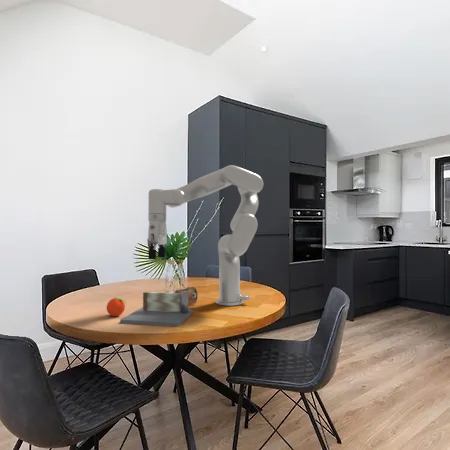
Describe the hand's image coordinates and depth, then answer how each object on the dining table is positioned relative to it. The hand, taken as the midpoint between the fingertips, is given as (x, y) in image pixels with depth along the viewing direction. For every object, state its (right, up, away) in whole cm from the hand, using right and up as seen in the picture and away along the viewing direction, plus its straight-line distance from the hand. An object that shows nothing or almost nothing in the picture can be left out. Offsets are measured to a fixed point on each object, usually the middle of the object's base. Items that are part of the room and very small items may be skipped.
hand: (157, 258), depth 142 cm
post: (+13, -22, -11) cm, 28 cm away
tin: (+12, -22, +3) cm, 25 cm away
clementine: (-13, -22, -12) cm, 28 cm away
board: (+4, -22, -14) cm, 26 cm away
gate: (+4, -20, -10) cm, 22 cm away
